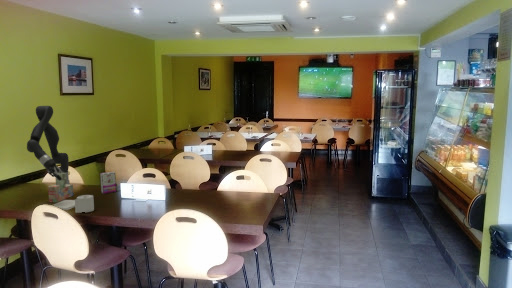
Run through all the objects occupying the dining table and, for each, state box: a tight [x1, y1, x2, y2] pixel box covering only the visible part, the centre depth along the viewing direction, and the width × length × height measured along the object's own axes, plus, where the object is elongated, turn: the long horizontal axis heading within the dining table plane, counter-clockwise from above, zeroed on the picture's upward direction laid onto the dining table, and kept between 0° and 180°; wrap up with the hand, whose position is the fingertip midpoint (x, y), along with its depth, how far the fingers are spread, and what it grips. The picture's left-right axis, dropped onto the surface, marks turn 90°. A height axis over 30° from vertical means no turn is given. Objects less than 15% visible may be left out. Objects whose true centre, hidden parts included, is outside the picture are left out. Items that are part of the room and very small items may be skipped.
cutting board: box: [53, 199, 75, 211], centre depth 307 cm, size 20×16×2 cm
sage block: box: [54, 173, 67, 185], centre depth 305 cm, size 5×5×8 cm
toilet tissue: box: [74, 194, 95, 214], centre depth 293 cm, size 11×12×10 cm
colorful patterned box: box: [47, 183, 74, 204], centre depth 327 cm, size 21×6×12 cm, turn 169°
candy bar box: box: [99, 171, 117, 195], centre depth 347 cm, size 11×5×16 cm, turn 129°
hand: (63, 178), depth 305 cm, fingers closed on sage block, 5 cm apart
